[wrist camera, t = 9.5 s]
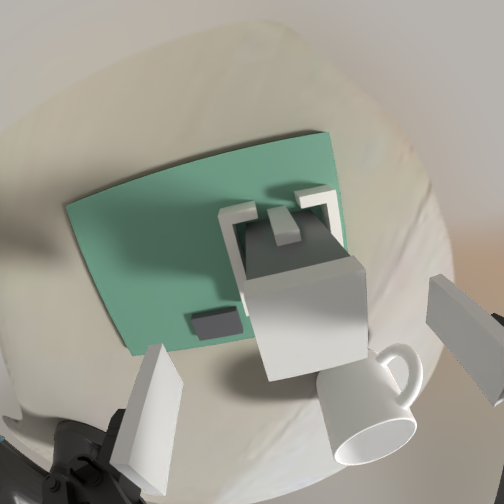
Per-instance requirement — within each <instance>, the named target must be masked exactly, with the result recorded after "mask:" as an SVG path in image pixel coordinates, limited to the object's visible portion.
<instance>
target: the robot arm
mask: <svg viewBox="0 0 504 504" xmlns="http://www.w3.org/2000/svg"><path fill="white" fill-rule="evenodd" d="M426 323H427V325H428V326H429V327H430V328H431V329H432V330H433V331H434V333H435V334H436V335H437V336H438V337H439V338H440V340H441V341H442V342H443V343H444V344H445V346H446V347H447V348H448V349H449V350H450V352H451V353H452V354H453V355H454V356H455V358H456V359H457V360H458V361H459V363H460V364H461V365H462V366H463V368H465V370H466V371H467V373H468V374H469V375H470V376H471V378H472V379H473V380H474V382H475V383H476V384H477V385H478V387H479V388H480V389H481V391H482V392H483V393H484V395H485V396H486V397H487V399H488V400H489V401H490V403H491V404H492V406H493V407H495V406H496V405H498V404H499V403H501V402H502V401H503V400H504V317H502V316H500V315H498V314H495V313H493V314H491V315H490V314H489V313H488V312H486V311H485V310H484V309H483V308H482V307H481V306H479V305H478V304H477V303H476V302H475V301H474V300H473V299H471V298H470V297H469V296H468V295H467V294H466V293H464V292H463V291H462V290H461V289H459V288H458V287H457V286H456V285H455V284H453V283H452V282H451V281H450V280H448V279H447V278H446V277H445V276H443V275H442V274H439V275H436V276H434V277H431V278H430V279H429V294H428V306H427V316H426ZM182 388H183V382H182V380H181V378H180V376H179V374H178V372H177V370H176V369H175V367H174V365H173V363H172V361H171V359H170V357H169V355H168V353H167V351H166V349H165V347H164V345H163V343H162V344H156V345H149V346H148V348H147V351H146V354H145V356H144V359H143V362H142V364H141V367H140V370H139V373H138V376H137V378H136V381H135V384H134V387H133V390H132V393H131V396H130V399H129V402H128V405H127V408H126V409H118V410H117V411H116V413H115V414H114V415H113V416H112V418H111V420H110V423H109V426H108V429H107V432H106V433H104V432H102V431H100V430H98V429H96V428H93V427H91V426H88V425H85V424H82V423H78V422H73V421H63V422H61V423H59V425H58V427H57V429H56V431H55V434H54V441H55V444H54V453H53V464H52V467H51V469H50V472H47V471H46V470H44V469H43V468H41V467H40V466H38V465H37V464H35V463H34V462H33V461H32V460H30V459H29V458H28V457H26V456H25V455H24V454H22V453H21V452H20V451H19V450H17V449H16V448H15V447H14V446H12V445H11V444H10V443H9V442H8V441H6V440H5V437H4V436H1V435H0V504H146V502H145V501H144V499H143V498H142V497H141V496H140V492H141V490H143V491H144V492H145V493H147V494H148V495H158V496H166V490H167V482H168V475H169V468H170V461H171V454H172V448H173V441H174V435H175V429H176V423H177V417H178V411H179V405H180V399H181V393H182ZM494 504H504V466H503V471H502V476H501V480H500V484H499V488H498V492H497V496H496V499H495V503H494Z"/></svg>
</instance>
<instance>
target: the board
mask: <svg viewBox="0 0 504 504" xmlns="http://www.w3.org/2000/svg"><path fill="white" fill-rule="evenodd" d="M323 185H329V186H331V187H332V188H334V189H336V194H337V200H338V207H339V214H340V221H341V228H342V236H343V244H344V249H345V250H346V251H347V252H348V248H347V240H346V231H345V224H344V216H343V209H342V202H341V196H340V189H339V183H338V177H337V171H336V166H335V160H334V155H333V149H332V144H331V139H330V134H329V132H322V133H316V134H310V135H304V136H299V137H294V138H288V139H283V140H278V141H273V142H269V143H264V144H259V145H255V146H251V147H246V148H242V149H238V150H234V151H230V152H226V153H222V154H218V155H214V156H210V157H206V158H203V159H199V160H196V161H192V162H188V163H185V164H182V165H178V166H175V167H172V168H168V169H165V170H162V171H159V172H155V173H152V174H149V175H146V176H143V177H140V178H137V179H134V180H131V181H128V182H126V183H123V184H120V185H117V186H114V187H112V188H109V189H106V190H104V191H101V192H98V193H96V194H93V195H91V196H88V197H85V198H83V199H80V200H78V201H75V202H73V203H71V204H69V205H67V206H65V207H66V210H67V213H68V216H69V219H70V222H71V225H72V227H73V230H74V233H75V236H76V238H77V241H78V243H79V246H80V249H81V251H82V254H83V256H84V259H85V261H86V263H87V266H88V268H89V271H90V273H91V275H92V277H93V280H94V282H95V284H96V286H97V289H98V291H99V293H100V295H101V297H102V299H103V301H104V303H105V306H106V308H107V310H108V312H109V314H110V316H111V318H112V320H113V322H114V323H115V325H116V327H117V329H118V331H119V333H120V335H121V337H122V339H123V340H124V342H125V344H126V346H127V348H128V349H129V351H130V353H131V355H132V356H136V355H145V354H146V351H147V348H148V346H149V345H156V344H162V343H163V345H164V347H165V349H166V351H167V352H169V351H176V350H183V349H190V348H197V347H203V346H209V345H215V344H221V343H227V342H232V341H238V340H243V339H248V338H253V337H255V334H254V330H253V327H252V324H251V320H250V317H249V316H246V313H245V310H244V306H243V303H242V300H241V296H240V293H239V289H238V286H237V283H236V279H235V276H234V272H233V269H232V265H231V262H230V258H229V255H228V251H227V248H226V244H225V241H224V237H223V234H222V230H221V227H220V223H219V219H218V213H219V210H220V208H224V207H228V206H232V205H236V204H241V203H245V202H249V201H253V200H254V201H255V205H256V209H257V215H258V218H257V219H253V220H249V221H244V222H240V223H236V224H235V225H236V229H237V232H238V236H239V240H240V244H241V248H242V251H243V255H244V259H245V263H246V234H245V223H249V222H254V221H258V220H262V219H267V218H269V217H268V213H267V209H270V208H274V207H279V206H283V205H285V206H286V208H287V209H288V211H289V213H293V212H298V211H303V210H307V209H310V210H311V211H312V212H313V213H314V214H315V215H316V216H317V217H318V219H319V220H320V221H321V222H322V223H323V217H322V211H321V205H316V206H311V207H306V208H302V209H301V207H300V206H299V205H298V204H297V202H296V199H295V194H294V191H298V190H303V189H308V188H313V187H318V186H323Z"/></svg>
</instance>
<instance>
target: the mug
mask: <svg viewBox="0 0 504 504" xmlns="http://www.w3.org/2000/svg"><path fill="white" fill-rule="evenodd" d="M397 356H400V357H402V358H403V359H404V360H405V361H406V363H407V365H408V369H409V378H408V382H407V385H406V387H405V388H404V390H403V391H402V392H401V391H400V389H399V387H398V385H397V383H396V381H395V380H394V378H393V376H392V374H391V372H390V370H389V368H388V366H387V364H388V363H389V361H391V360H392V359H393V358H394V357H397ZM422 379H423V368H422V363H421V360H420V358H419V356H418V354H417V353H416V352H415V350H414V349H413V348H411V347H410V346H408V345H406V344H394V345H391V346H389V347H387V348H386V349H384V350H383V351H382V352H380V353H379V354H378V353H377V352H375V351H373V350H370V349H368V358H365V359H361V360H358V361H354V362H351V363H347V364H344V365H340V366H336V367H333V368H329V369H325V370H321V371H320V372H319V374H318V376H317V380H316V388H317V393H318V397H319V401H320V405H321V409H322V413H323V417H324V421H325V425H326V429H327V433H328V437H329V441H330V445H331V449H332V454H333V458H334V460H335V461H336V462H337V463H339V464H342V465H360V464H365V463H369V462H372V461H375V460H378V459H380V458H383V457H385V456H387V455H389V454H391V453H393V452H394V451H396V450H398V449H399V448H400V447H402V446H403V445H404V444H405V443H407V442H408V441H409V440H410V438H411V437H412V436H413V435H414V433H415V431H416V428H417V423H416V421H415V419H414V417H413V415H412V413H411V411H410V409H409V406H410V405H411V404H412V402H413V401H414V400H415V398H416V396H417V395H418V393H419V390H420V388H421V384H422Z"/></svg>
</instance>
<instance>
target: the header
mask: <svg viewBox="0 0 504 504" xmlns="http://www.w3.org/2000/svg"><path fill="white" fill-rule="evenodd" d="M294 194H295V199H296V202H297V204H298V205H299V206H300V207H301V209H302V208H306V207H311V206H316V205H321V211H322V217H323V224H324V225H325V227H326V228H327V229H328V230H329V231H330V232H331V234H332V235H333V236H334V237H335V238H336V239H337V241H338V242H339V243H340V244H341V245H342V246H343V248H344V244H343V236H342V228H341V221H340V214H339V207H338V200H337V194H336V189H334V188H332V187H331V186H329V185H323V186H318V187H313V188H308V189H303V190H298V191H294ZM257 218H258V215H257V209H256V205H255V201H254V200H253V201H249V202H245V203H241V204H236V205H232V206H228V207H224V208H220V210H219V213H218V219H219V223H220V227H221V230H222V234H223V237H224V241H225V244H226V248H227V251H228V255H229V258H230V262H231V265H232V269H233V272H234V276H235V279H236V283H237V286H238V289H239V293H240V296H241V300H242V303H243V306H244V310H245V313H246V316H249V313H248V310H247V306H246V303H245V300H244V281H246V263H245V259H244V255H243V251H242V248H241V244H240V240H239V236H238V232H237V229H236V225H235V224H236V223H240V222H244V221H249V220H253V219H257Z"/></svg>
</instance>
